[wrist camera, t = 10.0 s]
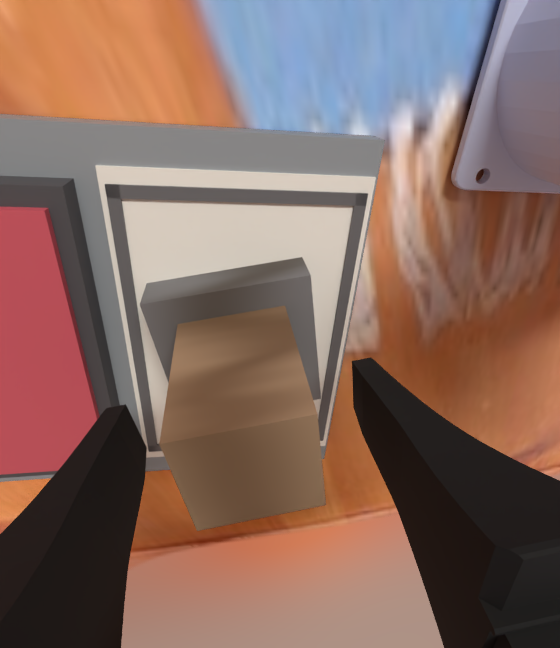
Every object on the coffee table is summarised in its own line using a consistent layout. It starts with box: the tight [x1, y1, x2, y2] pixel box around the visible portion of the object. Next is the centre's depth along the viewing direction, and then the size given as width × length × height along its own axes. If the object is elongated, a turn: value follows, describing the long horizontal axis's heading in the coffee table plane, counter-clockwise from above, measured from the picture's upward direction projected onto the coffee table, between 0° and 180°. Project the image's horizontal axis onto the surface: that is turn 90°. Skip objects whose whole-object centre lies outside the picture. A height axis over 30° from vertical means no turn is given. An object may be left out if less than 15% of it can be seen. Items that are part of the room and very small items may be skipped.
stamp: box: [140, 257, 326, 531], centre depth 12 cm, size 6×6×6 cm
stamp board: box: [0, 114, 385, 482], centre depth 15 cm, size 18×15×2 cm
